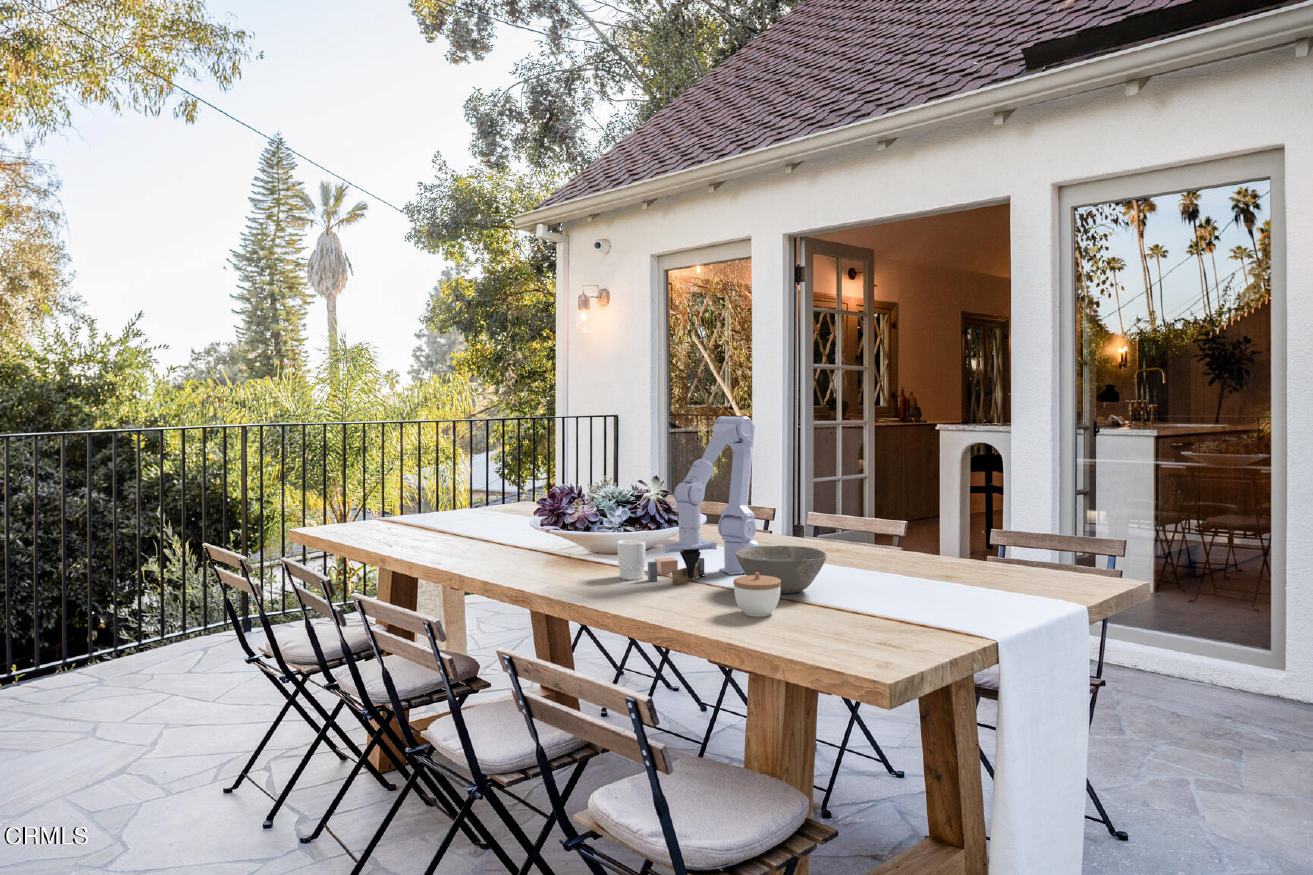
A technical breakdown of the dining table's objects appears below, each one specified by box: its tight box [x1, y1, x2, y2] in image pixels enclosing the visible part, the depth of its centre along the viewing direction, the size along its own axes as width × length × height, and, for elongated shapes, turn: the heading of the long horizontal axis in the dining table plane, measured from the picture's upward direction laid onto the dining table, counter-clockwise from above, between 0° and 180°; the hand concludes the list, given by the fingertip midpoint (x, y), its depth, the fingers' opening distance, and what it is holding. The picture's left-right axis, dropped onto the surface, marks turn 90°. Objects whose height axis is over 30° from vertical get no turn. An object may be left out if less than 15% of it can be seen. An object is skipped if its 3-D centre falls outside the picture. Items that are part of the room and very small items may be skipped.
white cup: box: [616, 539, 647, 581], centre depth 236 cm, size 8×8×10 cm
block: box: [654, 556, 679, 576], centre depth 242 cm, size 5×5×4 cm
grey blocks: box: [647, 557, 705, 582], centre depth 234 cm, size 16×2×5 cm, turn 109°
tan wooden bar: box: [671, 565, 699, 586], centre depth 231 cm, size 10×1×4 cm, turn 143°
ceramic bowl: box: [735, 545, 827, 595], centre depth 217 cm, size 22×23×10 cm
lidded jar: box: [733, 572, 781, 618], centre depth 195 cm, size 11×11×9 cm
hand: (690, 577), depth 229 cm, fingers closed
